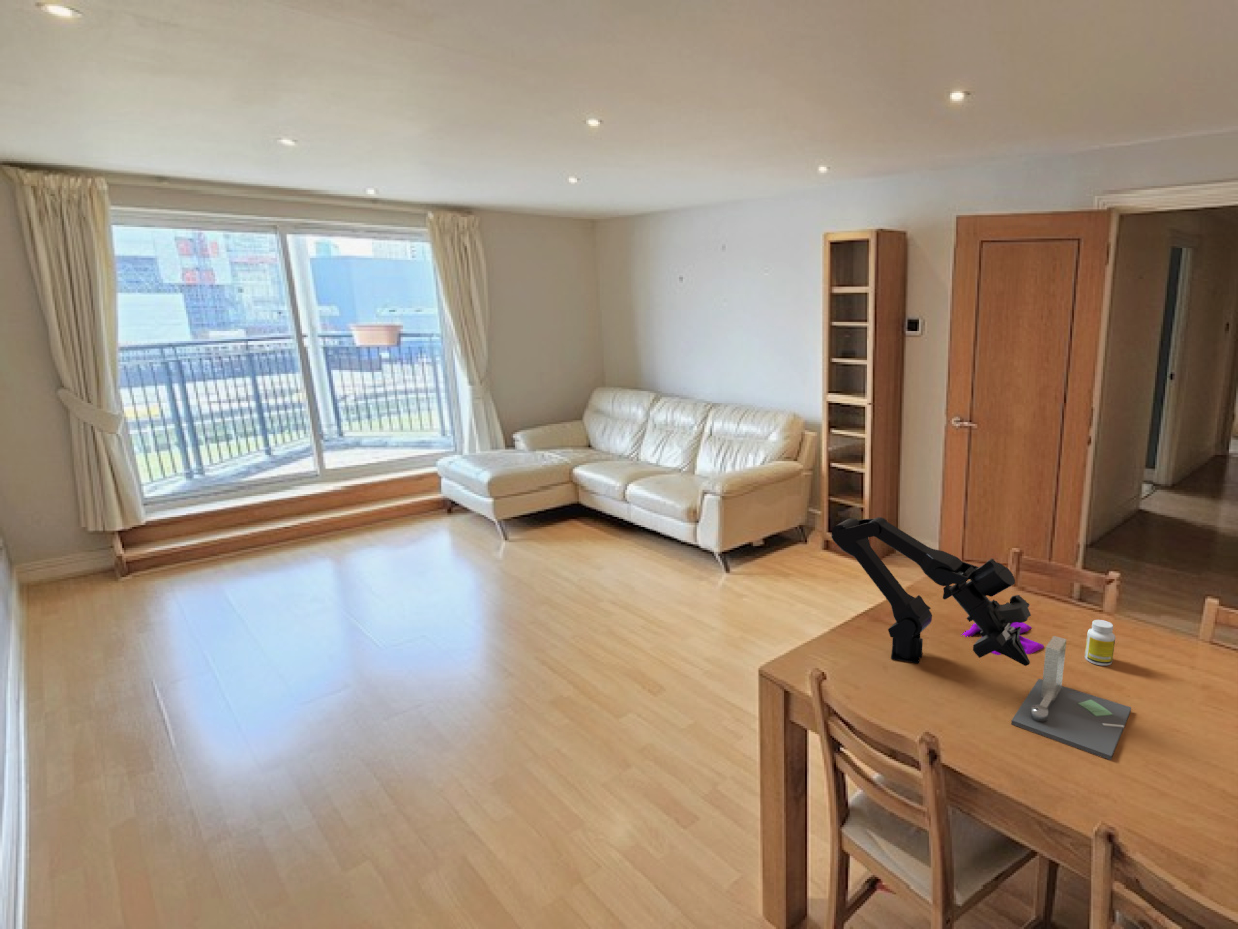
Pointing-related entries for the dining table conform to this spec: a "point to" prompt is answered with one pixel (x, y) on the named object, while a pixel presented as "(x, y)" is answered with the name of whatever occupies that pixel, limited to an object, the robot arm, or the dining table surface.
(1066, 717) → the plate
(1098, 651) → the supplement bottle
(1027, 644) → the cloth
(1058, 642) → the frosted block on spoon
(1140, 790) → the dining table surface
